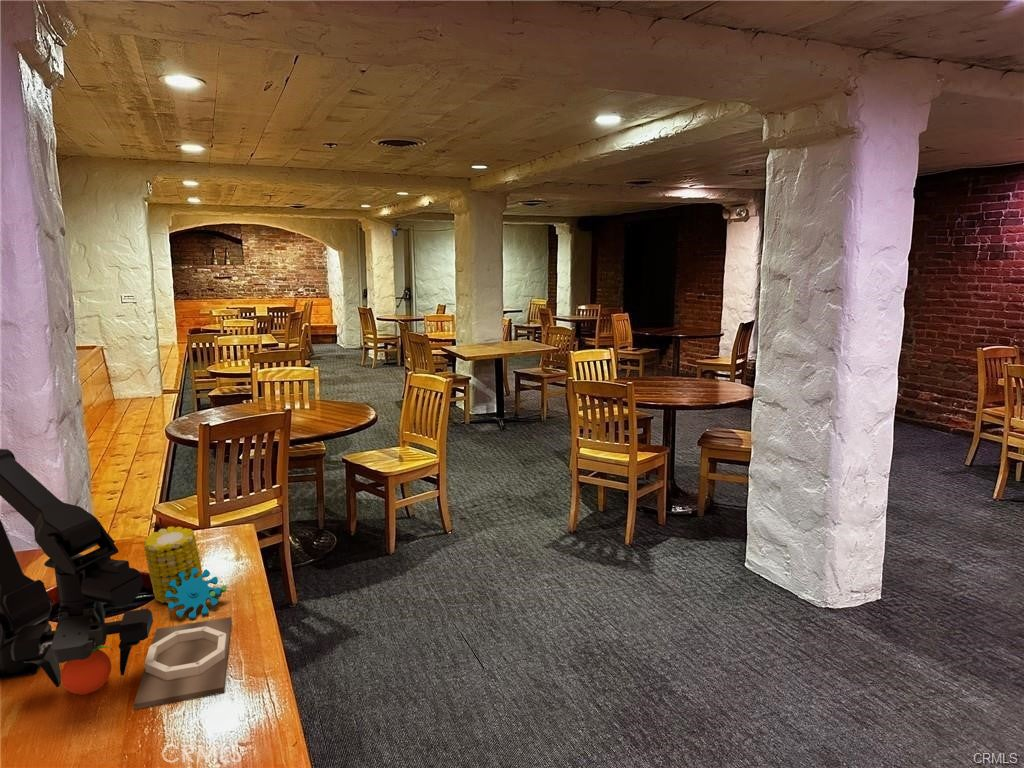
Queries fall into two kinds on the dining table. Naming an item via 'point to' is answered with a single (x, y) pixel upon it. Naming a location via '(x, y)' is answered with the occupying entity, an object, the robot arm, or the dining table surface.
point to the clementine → (87, 672)
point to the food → (171, 559)
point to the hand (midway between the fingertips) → (91, 679)
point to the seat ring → (185, 669)
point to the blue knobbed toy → (194, 593)
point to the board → (180, 654)
